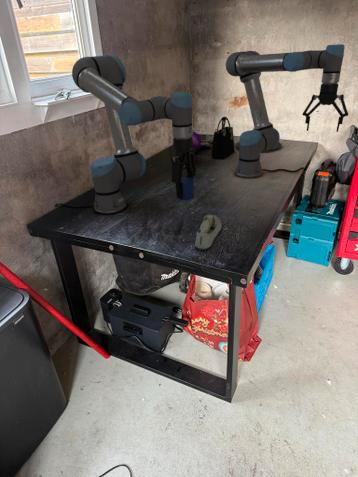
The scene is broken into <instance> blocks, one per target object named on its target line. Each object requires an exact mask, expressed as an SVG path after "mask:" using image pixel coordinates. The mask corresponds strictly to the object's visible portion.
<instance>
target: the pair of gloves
mask: <svg viewBox="0 0 358 477" xmlns="http://www.w3.org/2000/svg"><path fill="white" fill-rule="evenodd" d="M213 138H214V134H212V135H209V134H206V135H205V140H201V145H200V148H199V149H202V148H203V149H204V148H210V149H212V147H213V145H211V144H213Z"/></svg>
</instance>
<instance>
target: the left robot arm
mask: <svg viewBox="0 0 358 477" xmlns="http://www.w3.org/2000/svg"><path fill="white" fill-rule="evenodd" d="M71 69H72V70H71V77H72V80H73V82H74V84H75V86H76V87H77V88H78V89H79V90H80V91H82V92H84V93H88V94H91V95H92V96H94V97H95V98H97V99H99V100H100V101H101V102H102V103H103V104H104V109H105V112H106V116H107V117H106V118H107V120H108V125H109V128H110V132H111V135H112V140H113V144H114V148H115V151H114V152H113V156H104V157H99V158H98V159H95V160H94V161H92V162H91V165H90V175H91V179H92V183H93V188H94V193H95V195H94V196H95V197H94V202H93V203H92V204H91V203H90V204H84V205H83V204H82V205H72V204H69V203H68V204H67V203H61V202H59V203H60V204H57V203H55V204H56V205H55V204H54V207H57V206H59V205H61V206H64V207H65V206H67V207H71V208H84V207H85V208H87V207H93V209H94V212H96V213H97V214H100V215H113V214H117V213H120V212H122V211H124V210H125V209H126V208H127V201H126V199H125V197H124V195H123V193H122V191H121V184H125V183H126V182H129V181H133V180H137V179H138V178H140V177H143V176H144V174H145V173H146V170H147V161H146V158H145V156H144V154H142V153H141V152H139V149H138V148H137V147H135V145H134V142H133V137H132V132H131V129H130V127H131V126H137V125H141V124H144V123H149V122H154V121H159V120H162V119H163V120H165V119H166V120H171V129H172V137H173V139H172V146H173V149H174V150H175V155H174V156H171V158H170V160H171V183H174V184H175V190H176V191H175V192H176V195H175V196H176V198H177V197H178V198H183V182H181V180H182V177H183V173H184V165H185V167H186V168H185V170H186V173H187V175H186V176H185V177H189V178H192V179H193V180H194V177H195V176H196V173H197V165H196V160H195V157H196V152H195V149H191V148H192V147H193V138H192V136H193V132H194V128H193V98H192V94H191V93H190V92H187V91H177V92H172V93H171V94H170V97H167V96H161V95H159V96H152V97H151V98H149V99H143V100H138V99H136V98H135V97H133V96H132V95H130V94H128V93H127V92H125V91H124V90H123V89H124V84H125V82H126V80H127V70H126V67H125V64H124V63H123V61H122V60H121V59H120V58H119V57H118V56H116V55H108V54H105V55H93V56H83V57H80V58H79V59H77V60H76V61H75V63H74V64H73V66H72V68H71Z"/></svg>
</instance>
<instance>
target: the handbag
mask: <svg viewBox="0 0 358 477" xmlns="http://www.w3.org/2000/svg"><path fill="white" fill-rule="evenodd" d="M226 122H227V125H228V126H226ZM220 124H221V128H220ZM219 128H220V129H219ZM213 135H214V138H213V143H212V148H211V158H212V159H221V160H223V159H225V158H227V157H228V156H230V155H232V154H233V153H235V150H236V149H235V136H234V127H233V126H231V122H230V120H229V118H228V117H227V116H222V117H221V118H220V120H219V122H218V124H217V126H216V129H215V130H214V132H213Z"/></svg>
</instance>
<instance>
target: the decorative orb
mask: <svg viewBox="0 0 358 477" xmlns="http://www.w3.org/2000/svg"><path fill="white" fill-rule="evenodd" d="M192 138H193V147H192V148H191V149H195V153H196V152H197V151H198V150H199V149H201V148H200V145H201V137H200V135H199V134H198V133H197V132H195V131H193V136H192Z"/></svg>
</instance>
